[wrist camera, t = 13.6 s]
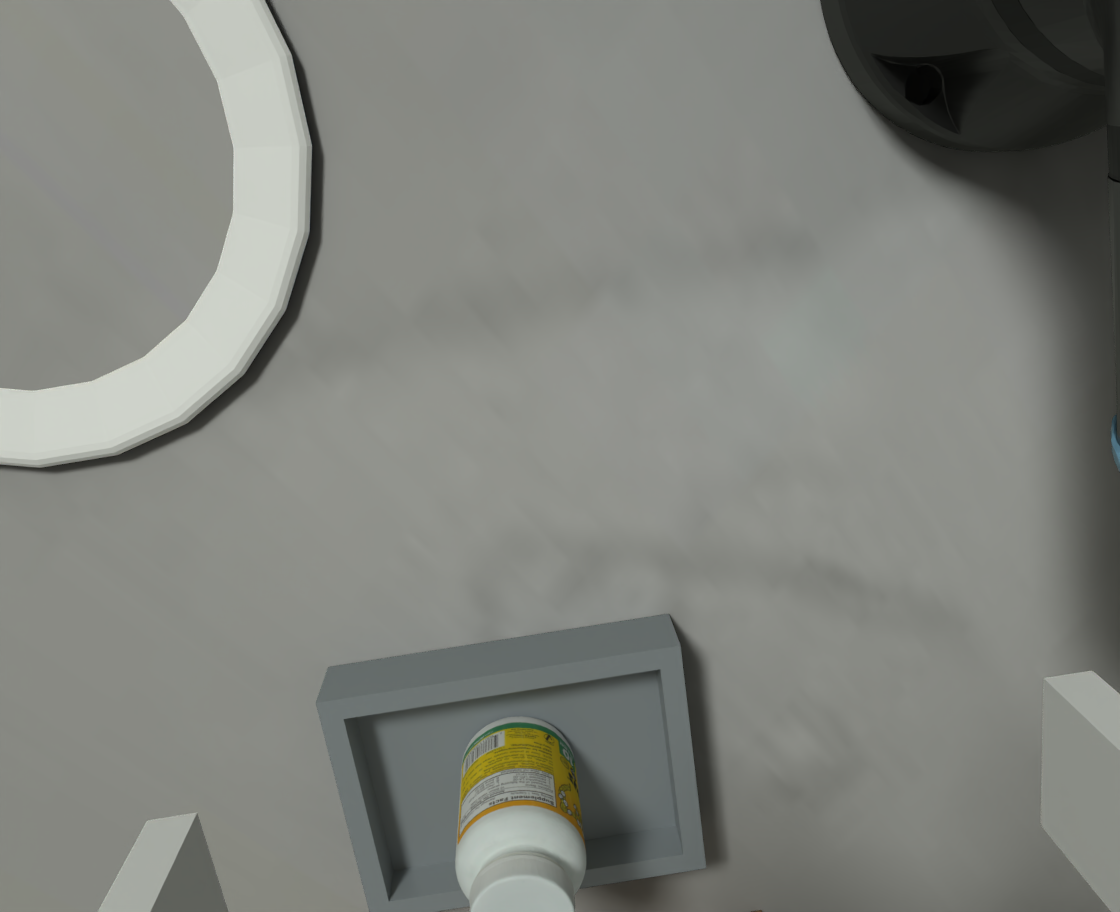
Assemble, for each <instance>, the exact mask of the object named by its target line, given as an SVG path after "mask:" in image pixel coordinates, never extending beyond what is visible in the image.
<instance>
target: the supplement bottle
mask: <svg viewBox="0 0 1120 912" xmlns="http://www.w3.org/2000/svg"><path fill="white" fill-rule="evenodd" d="M455 869H456V875H457V879H458V882H459V885H460V887H461V889H462V891H463V893H464V894H465V896H466V897H467V899H468V900H469V903H470V912H575V900H574V899H575V897H574V896H575V894H576V893H577V891H578V890H579V888H580V886H581V884H582V881H583V879H584V875H585V870H586V848H585V839H584V832H583V824H582V816H581V807H580V801H579V791H578V783H577V774H576V766H575V760H574V755H573V752H572V750H571V748H570V746H569V744H568V743H567V741H566V740H565V738H564V737H563V735H562V734H561V733H560V732H559V731H558V730H557V729H556V728H555V727H553V726H551V725H550V724H548V723H546V722H545V721H543V720H540V719H536V718H532V717H523V716H520V717H507V718H503V719H500V720H497V721H495V722H492V723H490V724H488V725H487V726H485V727H484V728H482V729H481V730H480V731H479V732H478V733H477V734H476V735H475V736H474V737H473V738H472V739H471V741H470V742H469V744H468V746H467V747H466V750H465V752H464V755H463V759H462V768H461V784H460V799H459V815H458V829H457V843H456V858H455Z"/></svg>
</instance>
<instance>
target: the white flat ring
mask: <svg viewBox="0 0 1120 912" xmlns="http://www.w3.org/2000/svg"><path fill="white" fill-rule="evenodd" d="M170 1H171V2H172V3H173V4H174V6H175V7H176V8H177V9H178V10H179V12H180V13H181V14H182V15H183V16H184V18H185V20H186V22H187V24H188V26H189V28H190V30H191V32H192V34H193V35H194V37H195V39H196V41H197V43H198V45H199V47H200V49H201V51H202V53H203V55H204V57H205V59H206V61H207V63H208V64H209V66H210V68H211V70H212V72H213V74H214V76H215V78H216V80H217V83H218V87H219V91H220V95H221V99H222V103H223V107H224V111H225V115H226V119H227V123H228V127H229V131H230V135H231V139H232V143H233V147H234V165H233V215H232V218H231V222H230V226H229V229H228V233H227V236H226V240H225V243H224V247H223V250H222V254H221V257H220V261H219V265H218V268H217V271H216V273H215V274H214V276H213V278H212V279H211V281H210V282H209V284H208V286H207V287H206V289H205V290H204V292H203V294H202V295H201V297H200V298H199V300H198V302H197V303H196V305H195V306H194V308H193V310H192V311H191V313H190V314H189V316H188V318H187V319H186V320H185V321H184V322H183V323H182V324H181V325H180V326H179V327H177V328H176V329H175V330H174V331H173V332H172V333H171V334H169V335H168V336H167V337H166V338H165V339H164V340H163V341H161V342H160V343H159V344H158V345H157V346H156V347H155V348H153V349H152V350H151V351H150V352H149V353H148V354H147V355H146V356H144V357H143V358H141V359H139V360H137V361H134V362H132V363H130V364H128V365H126V366H124V367H121V368H119V369H117V370H115V371H113V372H111V373H109V374H106V375H104V376H102V377H100V378H98V379H96V380H93V381H91V382H85V383H79V384H73V385H66V386H60V387H54V388H48V389H42V390H36V391H27V390H16V389H4V388H0V464H1V465H14V466H26V467H38V468H42V467H48V466H54V465H60V464H66V463H72V462H78V461H84V460H90V459H96V458H102V457H108V456H115V455H119V454H121V453H123V452H125V451H128V450H130V449H132V448H134V447H136V446H139V445H141V444H143V443H145V442H147V441H150V440H152V439H154V438H156V437H158V436H161V435H163V434H165V433H167V432H169V431H172V430H174V429H176V428H178V427H180V426H182V425H185V424H187V423H188V422H189V421H190V420H192V419H193V418H194V417H195V416H196V415H197V414H199V413H200V412H201V411H202V410H203V409H204V408H206V407H207V406H208V405H209V404H210V403H211V402H213V401H214V400H215V399H216V398H217V397H218V396H220V395H221V394H222V393H223V392H224V391H225V390H227V389H228V388H229V387H230V386H231V385H232V384H234V383H235V382H236V381H237V380H238V379H239V378H241V377H242V376H243V375H244V374H245V372H246V371H247V369H248V368H249V366H250V365H251V363H252V362H253V360H254V359H255V357H256V356H257V354H258V352H259V351H260V349H261V348H262V346H263V345H264V343H265V342H266V340H267V339H268V337H269V336H270V334H271V332H272V331H273V329H274V328H275V326H276V325H277V323H278V322H279V320H280V319H281V317H282V315H283V314H284V312H285V311H286V309H287V306H288V303H289V300H290V296H291V293H292V290H293V286H294V283H295V280H296V277H297V273H298V270H299V267H300V263H301V260H302V257H303V254H304V250H305V247H306V244H307V240H308V237H309V234H310V215H311V180H312V142H311V137H310V133H309V128H308V124H307V119H306V115H305V110H304V106H303V101H302V97H301V93H300V88H299V84H298V79H297V75H296V70H295V66H294V61H293V57H292V54H291V52H290V50H289V48H288V46H287V44H286V42H285V40H284V38H283V36H282V34H281V32H280V30H279V28H278V26H277V24H276V22H275V20H274V17H273V15H272V13H271V11H270V9H269V7H268V5H267V3H266V1H265V0H170Z"/></svg>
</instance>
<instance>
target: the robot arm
mask: <svg viewBox="0 0 1120 912" xmlns="http://www.w3.org/2000/svg"><path fill="white" fill-rule="evenodd" d="M820 1H821V6H822V11H823V15H824V19H825V23H826V26H827V29H828V33H829V35H830V38H831V41H832V43H833V46H834V48H835V50H836V52H837V55H838V57H839V59H840V61H841V63H842V64H843V66H844V68H845V70H846V71H847V73H848V75H849V76H850V78H851V79H852V81H853V82H854V84H855V85H856V86H857V88H858V89H859V90H860V91H861V93H862V94H863V95H864V96H865V97H866V99H867V100H868V101H869V102H870V103H871V104H872V105H873V106H874V107H875V108H876V109H877V110H878V111H880V112H881V113H882V114H883V115H884V116H885V117H887V118H888V119H889V120H891V121H892V122H893V123H895V124H896V125H898V126H899V127H901V128H902V129H904V130H906V131H907V132H909V133H911V134H913V135H915V136H917V137H919V138H922V139H924V140H927V141H929V142H931V143H935V144H938V145H941V146H944V147H949V148H954V149H959V150H966V151H979V152H991V151H1021V150H1030V149H1038V148H1043V147H1048V146H1052V145H1056V144H1060V143H1063V142H1066V141H1070V140H1072V139H1075V138H1078V137H1081V136H1084V135H1086V134H1089V133H1091V132H1093V131H1095V130H1098V129H1100V128H1102V127H1104V126H1106V125H1107V140H1108V164H1109V173H1108V174H1109V175H1108V200H1109V224H1110V248H1111V271H1112V295H1113V319H1114V343H1115V366H1116V397H1117V414H1116V415H1115V416H1114V417H1113V419H1112V425H1111V443H1112V448H1111V450H1112V453H1113V457H1114V460H1115V463H1116V465H1117V467H1118V470H1119V472H1120V0H820ZM1041 826H1042V827H1043V829H1044V830H1045V831H1046V832H1047V834H1048V835H1049V836H1050V837H1051V838H1052V840H1053V841H1054V842H1055V843H1056V845H1057V846H1058V847H1059V848H1060V850H1061V851H1062V852H1063V853H1064V854H1065V856H1066V857H1067V858H1068V859H1069V861H1070V862H1071V863H1072V864H1073V865H1074V867H1075V868H1076V869H1077V870H1078V872H1079V873H1080V874H1081V875H1082V877H1083V878H1084V879H1085V880H1086V881H1087V883H1088V884H1089V885H1090V886H1091V888H1092V889H1093V890H1094V891H1095V893H1096V894H1097V895H1098V896H1099V897H1100V899H1101V900H1102V901H1103V902H1104V904H1105V905H1106V906H1107V907H1108V908H1109V910H1110V911H1111V912H1120V694H1119V693H1118V692H1117V691H1116V690H1114V689H1113V688H1112V687H1111V686H1110V685H1109V684H1107V683H1106V682H1105V681H1104V680H1103V679H1102V678H1101V677H1099V676H1098V675H1097V674H1096V673H1095V672H1094V671H1086V672H1079V673H1073V674H1067V675H1061V676H1054V677H1048V678H1044V679H1043V731H1042V783H1041ZM98 912H228V909H227V905H226V902H225V899H224V896H223V893H222V890H221V886H220V883H219V880H218V877H217V874H216V871H215V867H214V864H213V861H212V858H211V855H210V852H209V849H208V845H207V842H206V839H205V836H204V833H203V830H202V826H201V823H200V820H199V817H198V814H197V813H192V814H185V815H179V816H173V817H167V818H160V819H154V820H148V821H147V822H146V824H145V825H144V827H143V829H142V831H141V833H140V835H139V837H138V838H137V840H136V842H135V844H134V846H133V848H132V849H131V851H130V853H129V855H128V857H127V859H126V860H125V862H124V864H123V866H122V868H121V870H120V872H119V873H118V875H117V877H116V879H115V881H114V883H113V884H112V886H111V888H110V890H109V892H108V894H107V895H106V897H105V899H104V901H103V903H102V905H101V906H100V908H99V910H98Z"/></svg>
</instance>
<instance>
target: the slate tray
mask: <svg viewBox="0 0 1120 912" xmlns="http://www.w3.org/2000/svg"><path fill="white" fill-rule="evenodd" d="M316 706H317V710H318V714H319V718H320V721H321V725H322V729H323V733H324V737H325V741H326V745H327V749H328V753H329V756H330V760H331V764H332V768H333V772H334V776H335V780H336V784H337V788H338V791H339V795H340V799H341V803H342V807H343V811H344V815H345V819H346V823H347V826H348V830H349V834H350V838H351V842H352V846H353V850H354V854H355V857H356V861H357V865H358V869H359V873H360V877H361V881H362V885H363V889H364V892H365V896H366V900H367V904H368V908H369V912H437V911H443V910H449V909H455V908H462V907H468V906H470V903H469V900H468V899H467V897H466V896H465V894H464V893H463V891H462V889H461V887H460V885H459V882H458V879H457V875H456V869H455V858H456V843H457V829H458V815H459V799H460V784H461V768H462V759H463V755H464V752H465V750H466V747H467V746H468V744H469V742H470V741H471V739H472V738H473V737H474V736H475V735H476V734H477V733H478V732H479V731H480V730H481V729H482V728H484V727H485V726H487V725H488V724H490V723H492V722H495V721H497V720H500V719H503V718H507V717H520V716H523V717H532V718H536V719H540V720H543V721H545V722H546V723H548V724H550V725H551V726H553V727H555V728H556V729H557V730H558V731H559V732H560V733H561V734H562V735H563V737H564V738H565V740H566V741H567V743H568V744H569V746H570V748H571V750H572V752H573V755H574V760H575V766H576V774H577V783H578V791H579V801H580V807H581V816H582V824H583V832H584V839H585V848H586V870H585V875H584V879H583V881H582V884H581V886H580V888H586V887H593V886H599V885H605V884H611V883H618V882H624V881H630V880H636V879H642V878H649V877H655V876H661V875H667V874H674V873H680V872H686V871H692V870H699V869H705V868H706V861H705V852H704V844H703V835H702V826H701V818H700V809H699V800H698V792H697V783H696V774H695V766H694V757H693V748H692V740H691V731H690V723H689V714H688V705H687V697H686V688H685V679H684V671H683V662H682V653H681V645H680V643H679V640H678V637H677V635H676V632H675V629H674V626H673V624H672V621H671V618H670V616H669V614H665V615H658V616H652V617H645V618H639V619H633V620H626V621H620V622H614V623H607V624H601V625H594V626H588V627H582V628H575V629H569V630H562V631H556V632H550V633H543V634H537V635H531V636H524V637H518V638H511V639H505V640H499V641H492V642H486V643H480V644H473V645H467V646H460V647H454V648H448V649H441V650H435V651H428V652H422V653H416V654H409V655H403V656H397V657H390V658H384V659H377V660H371V661H365V662H358V663H352V664H346V665H339V666H333V667H328V669H327V672H326V675H325V678H324V681H323V684H322V686H321V689H320V692H319V695H318V698H317V701H316ZM580 888H579V889H580Z"/></svg>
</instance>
